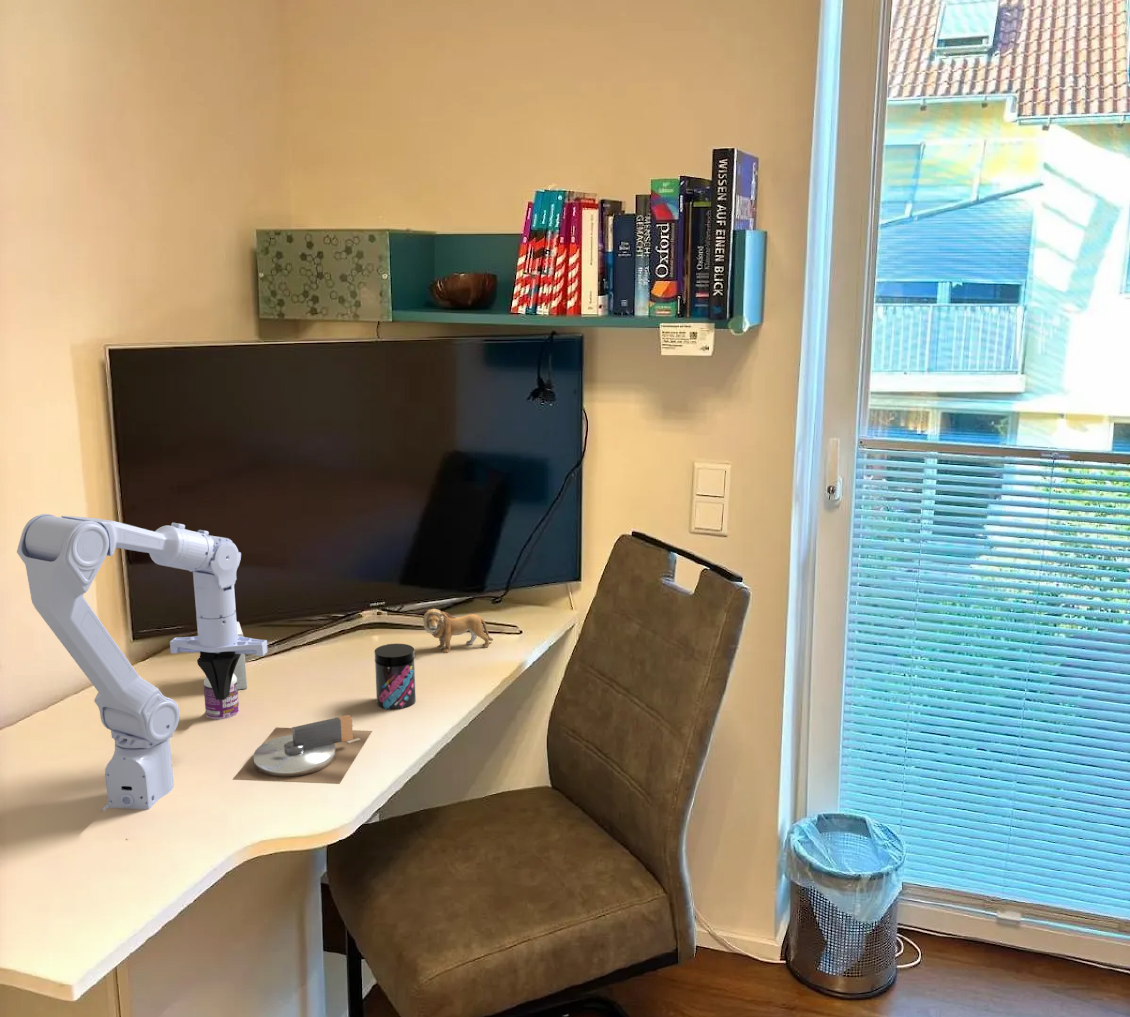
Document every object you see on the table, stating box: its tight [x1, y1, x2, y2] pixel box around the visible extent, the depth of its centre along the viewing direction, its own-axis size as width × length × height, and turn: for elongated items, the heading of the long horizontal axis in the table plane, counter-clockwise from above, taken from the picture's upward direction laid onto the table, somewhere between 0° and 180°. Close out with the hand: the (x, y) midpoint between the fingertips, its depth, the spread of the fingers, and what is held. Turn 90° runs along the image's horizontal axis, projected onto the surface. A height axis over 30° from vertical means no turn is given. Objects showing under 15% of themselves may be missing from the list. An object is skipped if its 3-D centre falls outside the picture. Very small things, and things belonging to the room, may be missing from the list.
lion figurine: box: [422, 608, 494, 654], centre depth 210 cm, size 15×5×9 cm, turn 118°
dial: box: [253, 714, 353, 777], centre depth 161 cm, size 15×12×5 cm
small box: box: [233, 621, 248, 691], centre depth 192 cm, size 8×6×10 cm
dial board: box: [232, 727, 373, 785], centre depth 162 cm, size 18×16×1 cm
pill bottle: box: [203, 674, 240, 720], centre depth 177 cm, size 5×5×10 cm
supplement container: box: [373, 643, 417, 711], centre depth 181 cm, size 7×7×10 cm
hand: (222, 697), depth 163 cm, fingers closed
